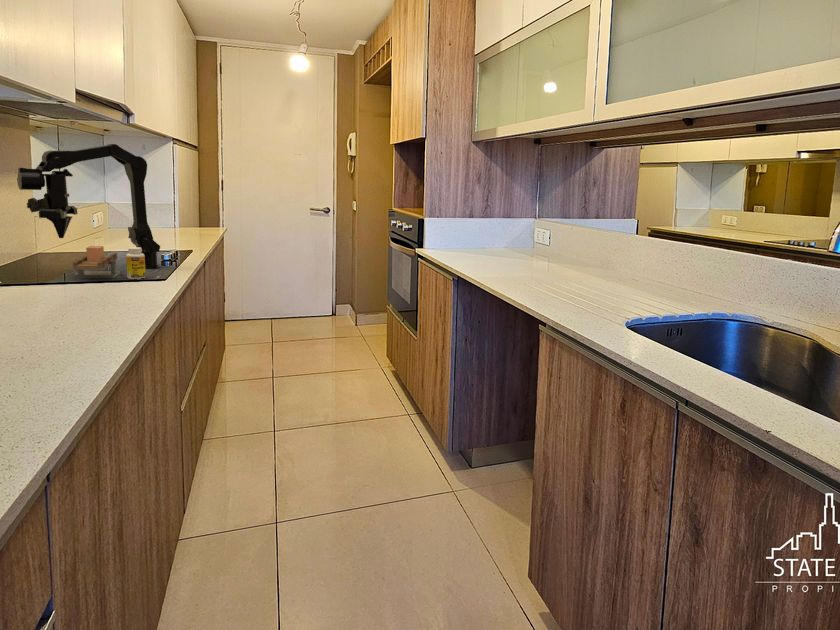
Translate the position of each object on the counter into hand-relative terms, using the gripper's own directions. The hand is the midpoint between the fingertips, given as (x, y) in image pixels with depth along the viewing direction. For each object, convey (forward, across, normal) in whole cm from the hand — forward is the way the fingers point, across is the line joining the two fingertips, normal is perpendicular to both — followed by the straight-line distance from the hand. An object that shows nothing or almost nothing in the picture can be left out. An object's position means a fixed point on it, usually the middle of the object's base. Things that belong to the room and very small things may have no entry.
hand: (61, 238), depth 196 cm
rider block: (+7, +4, +11) cm, 13 cm away
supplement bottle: (+12, +9, +24) cm, 28 cm away
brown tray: (+8, +4, +11) cm, 14 cm away
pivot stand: (+12, +4, +11) cm, 17 cm away
